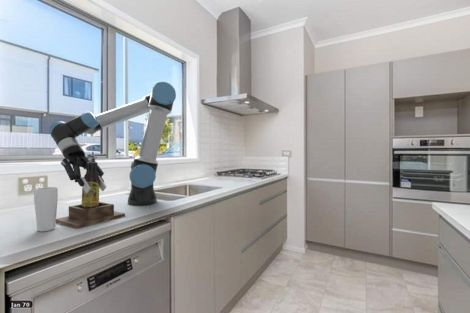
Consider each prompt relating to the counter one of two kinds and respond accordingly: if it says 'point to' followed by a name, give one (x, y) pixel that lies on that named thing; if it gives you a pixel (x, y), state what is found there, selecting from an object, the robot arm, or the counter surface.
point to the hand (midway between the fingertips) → (96, 189)
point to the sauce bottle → (93, 181)
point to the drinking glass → (46, 208)
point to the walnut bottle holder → (89, 215)
